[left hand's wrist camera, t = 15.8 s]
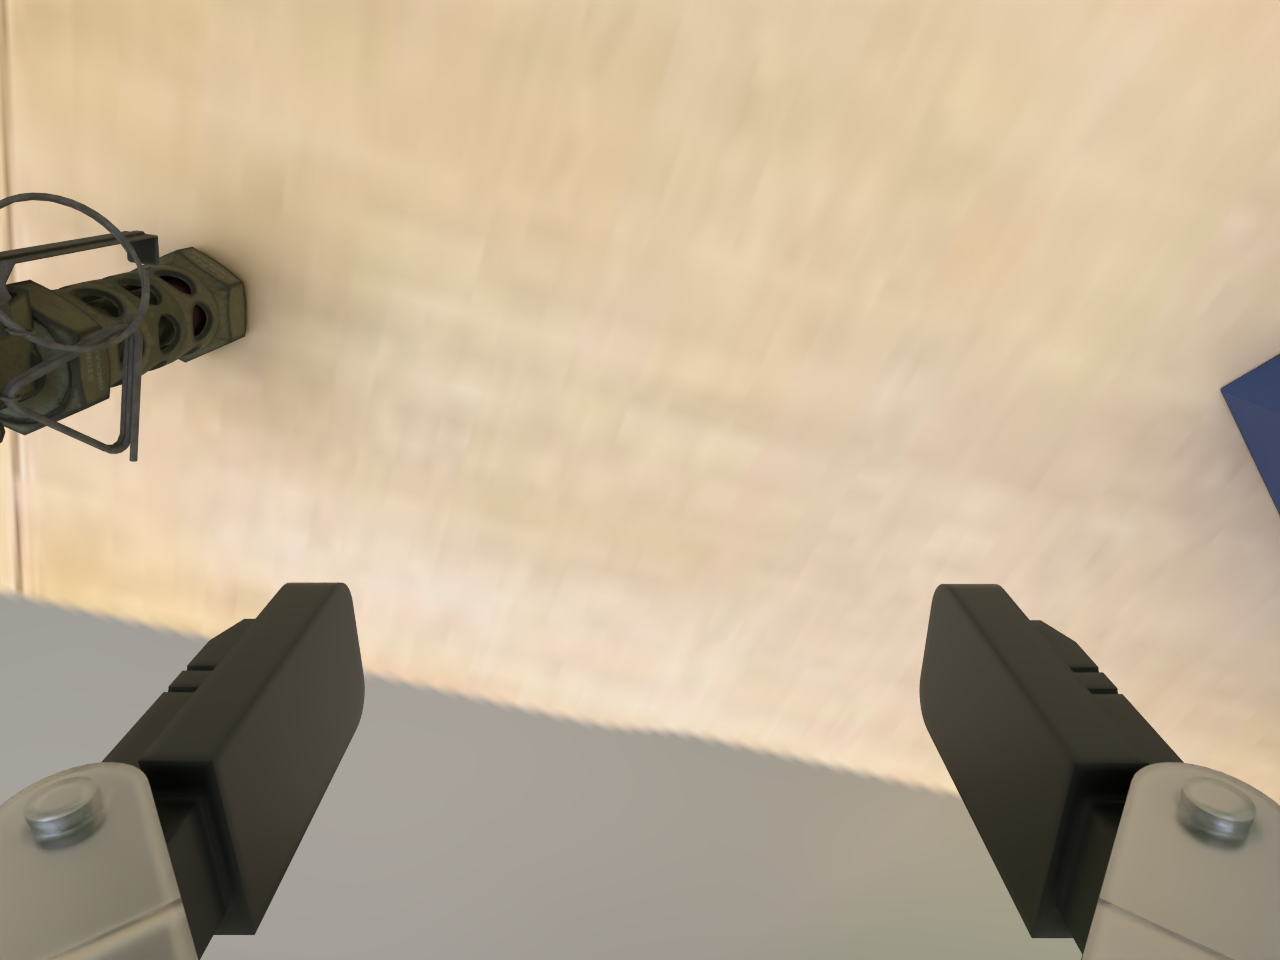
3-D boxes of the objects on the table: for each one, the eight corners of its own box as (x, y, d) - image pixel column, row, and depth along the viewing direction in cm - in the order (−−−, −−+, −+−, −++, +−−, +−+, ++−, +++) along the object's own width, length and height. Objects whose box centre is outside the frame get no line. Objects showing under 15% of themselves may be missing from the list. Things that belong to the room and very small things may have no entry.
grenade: (280, 382, 39) (82, 506, 25) (156, 366, 39) (-113, 482, 25) (275, 190, 36) (45, 212, 22) (140, 170, 36) (-179, 179, 22)
